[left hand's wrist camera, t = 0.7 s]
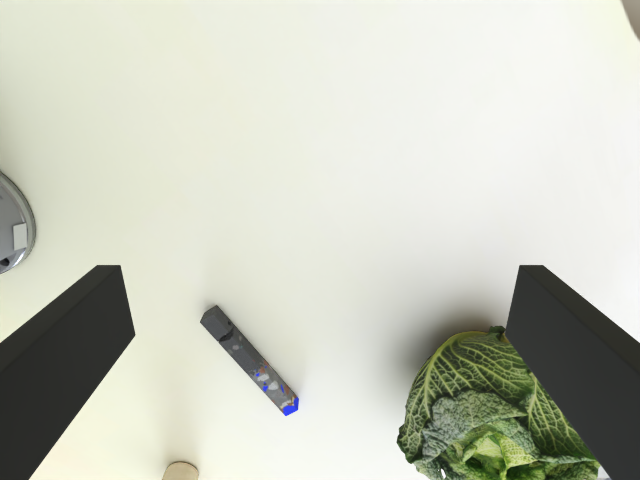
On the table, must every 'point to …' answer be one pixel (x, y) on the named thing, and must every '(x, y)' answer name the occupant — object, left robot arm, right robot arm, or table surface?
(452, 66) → the table surface
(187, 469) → the candle
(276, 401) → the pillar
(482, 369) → the vegetable
